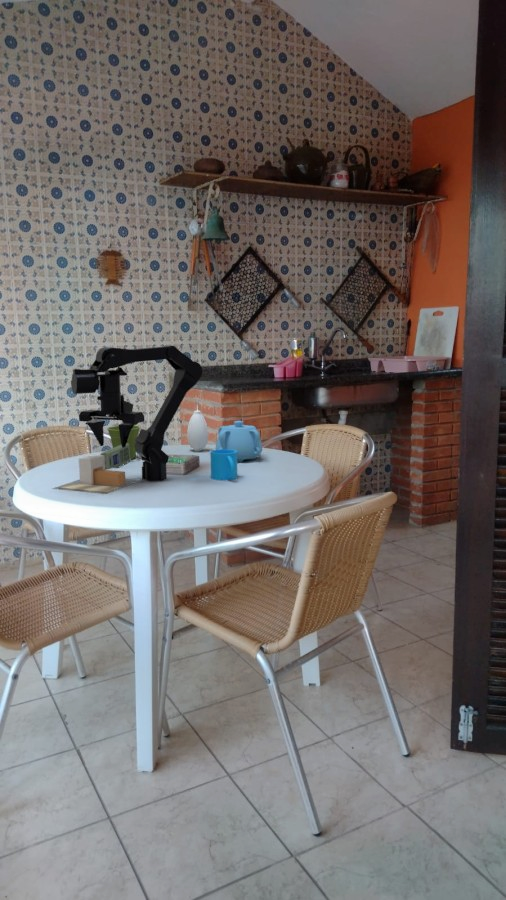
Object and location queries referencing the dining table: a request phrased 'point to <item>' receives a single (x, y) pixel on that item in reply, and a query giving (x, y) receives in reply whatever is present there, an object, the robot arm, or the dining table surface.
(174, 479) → the dining table surface
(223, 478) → the mug
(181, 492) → the dining table surface
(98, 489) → the pad
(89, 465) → the block
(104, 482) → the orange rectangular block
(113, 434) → the plant pot
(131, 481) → the board
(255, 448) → the decorative pot
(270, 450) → the dining table surface
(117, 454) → the handheld radio
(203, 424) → the white air blower
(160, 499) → the dining table surface
